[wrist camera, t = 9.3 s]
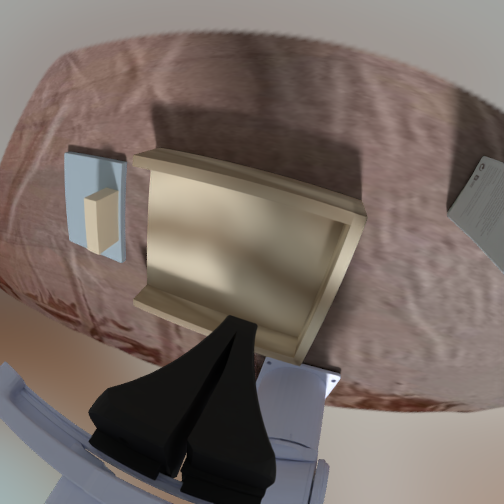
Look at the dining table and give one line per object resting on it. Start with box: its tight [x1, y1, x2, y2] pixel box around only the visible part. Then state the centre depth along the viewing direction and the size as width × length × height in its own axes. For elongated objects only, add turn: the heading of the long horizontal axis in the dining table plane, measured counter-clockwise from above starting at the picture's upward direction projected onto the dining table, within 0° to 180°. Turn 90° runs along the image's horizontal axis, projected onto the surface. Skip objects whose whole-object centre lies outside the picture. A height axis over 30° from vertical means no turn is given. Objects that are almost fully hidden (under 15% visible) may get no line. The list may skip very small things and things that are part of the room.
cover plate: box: [65, 151, 127, 263], centre depth 23 cm, size 10×8×4 cm
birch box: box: [133, 148, 368, 366], centre depth 21 cm, size 14×16×4 cm
